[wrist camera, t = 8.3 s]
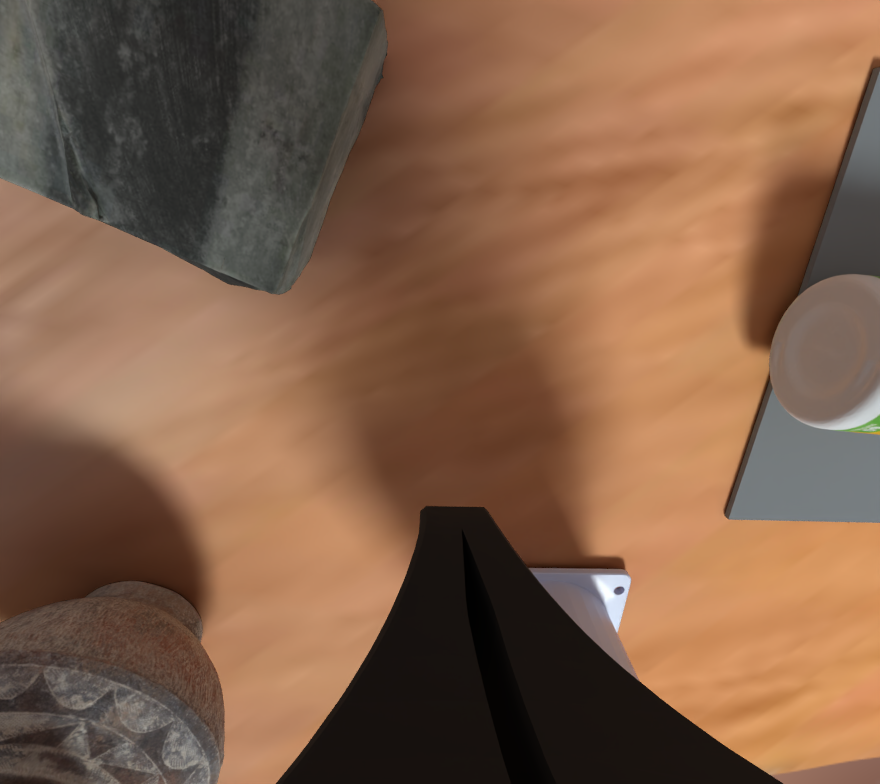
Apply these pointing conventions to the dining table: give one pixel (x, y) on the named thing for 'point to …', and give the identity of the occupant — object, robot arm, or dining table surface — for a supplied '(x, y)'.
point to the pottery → (109, 692)
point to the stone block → (191, 119)
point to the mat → (775, 432)
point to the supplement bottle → (831, 355)
